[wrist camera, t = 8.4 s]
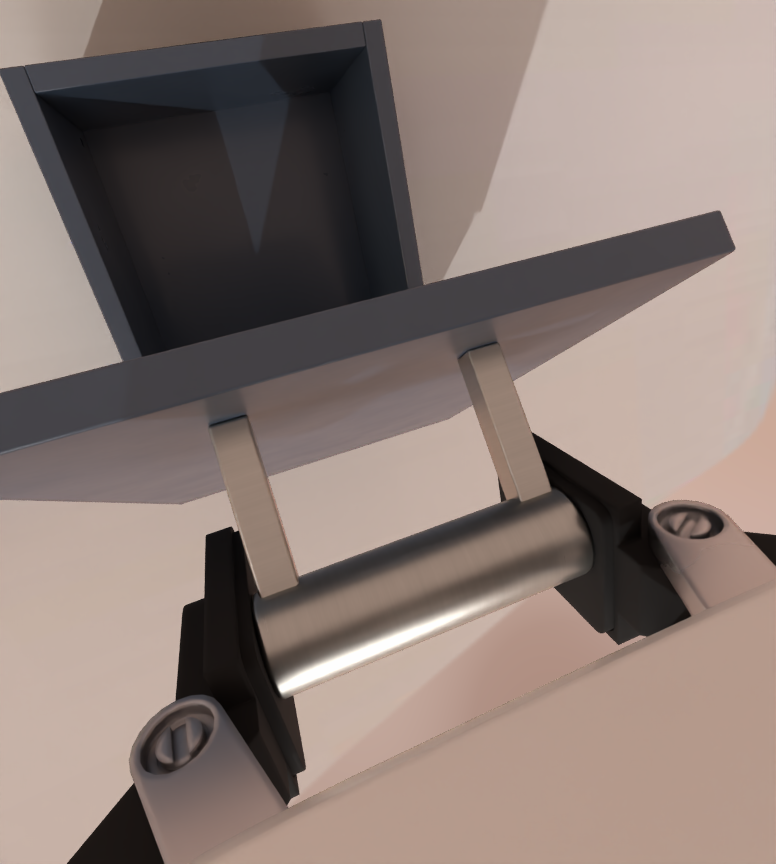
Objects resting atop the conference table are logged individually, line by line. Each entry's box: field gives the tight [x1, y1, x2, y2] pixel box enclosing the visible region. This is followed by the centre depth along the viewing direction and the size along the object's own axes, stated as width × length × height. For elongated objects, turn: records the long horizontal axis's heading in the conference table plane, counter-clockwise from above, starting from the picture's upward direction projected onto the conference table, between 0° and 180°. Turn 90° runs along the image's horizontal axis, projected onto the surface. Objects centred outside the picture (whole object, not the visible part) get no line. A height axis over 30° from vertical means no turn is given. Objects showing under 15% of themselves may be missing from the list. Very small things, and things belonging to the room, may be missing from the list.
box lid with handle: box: [0, 211, 735, 699], centre depth 16 cm, size 17×14×6 cm
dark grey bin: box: [0, 19, 423, 362], centre depth 25 cm, size 17×14×8 cm
